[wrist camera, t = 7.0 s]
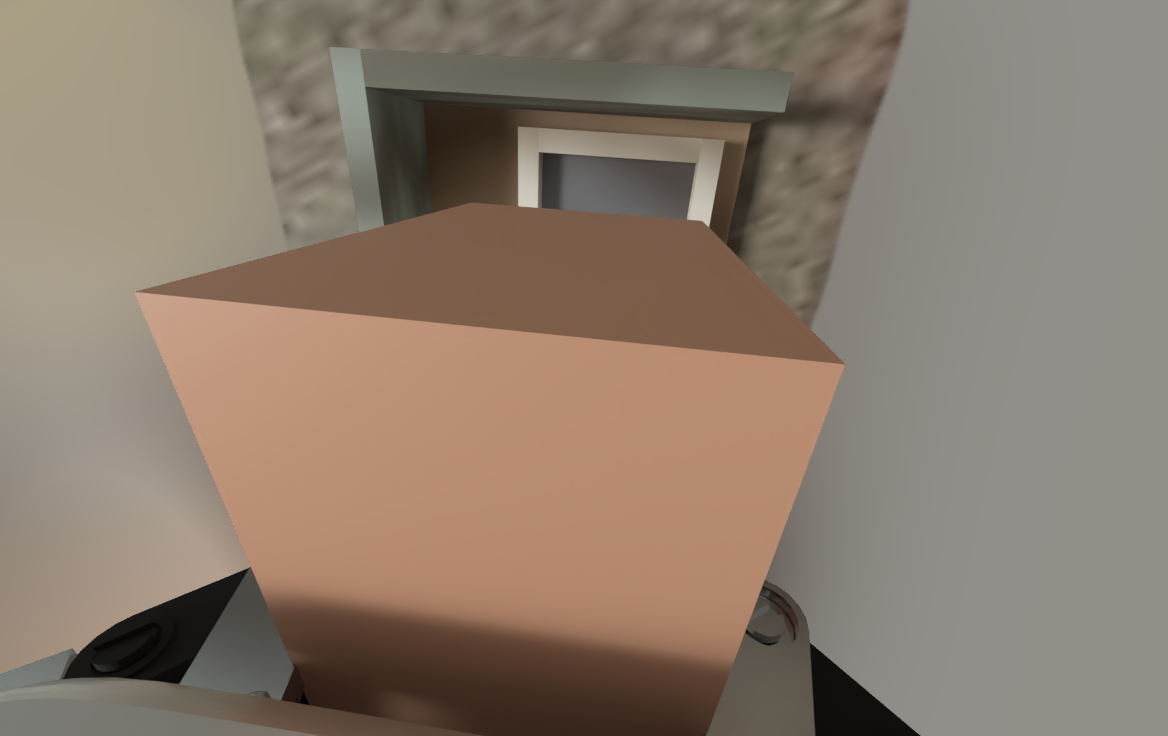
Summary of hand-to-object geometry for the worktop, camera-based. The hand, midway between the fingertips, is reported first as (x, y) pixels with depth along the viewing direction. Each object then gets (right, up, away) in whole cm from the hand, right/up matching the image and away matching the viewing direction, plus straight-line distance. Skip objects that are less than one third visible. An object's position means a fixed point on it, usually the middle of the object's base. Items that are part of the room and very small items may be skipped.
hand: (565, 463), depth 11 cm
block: (0, 0, +1) cm, 1 cm away
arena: (-1, +6, +15) cm, 16 cm away
